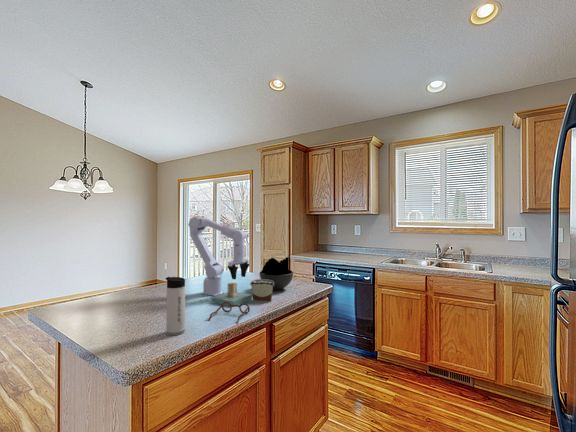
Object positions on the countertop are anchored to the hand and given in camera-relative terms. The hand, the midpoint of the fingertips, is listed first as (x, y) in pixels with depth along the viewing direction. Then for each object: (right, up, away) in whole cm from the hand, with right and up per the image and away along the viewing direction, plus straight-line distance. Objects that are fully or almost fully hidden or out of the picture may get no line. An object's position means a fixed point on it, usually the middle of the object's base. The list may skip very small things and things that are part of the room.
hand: (238, 277), depth 155 cm
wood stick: (-1, -9, -11) cm, 15 cm away
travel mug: (-14, -9, -51) cm, 54 cm away
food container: (+14, -10, -9) cm, 19 cm away
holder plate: (-1, -9, -11) cm, 15 cm away
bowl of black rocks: (+20, -10, +13) cm, 26 cm away
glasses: (+2, -10, -35) cm, 36 cm away
